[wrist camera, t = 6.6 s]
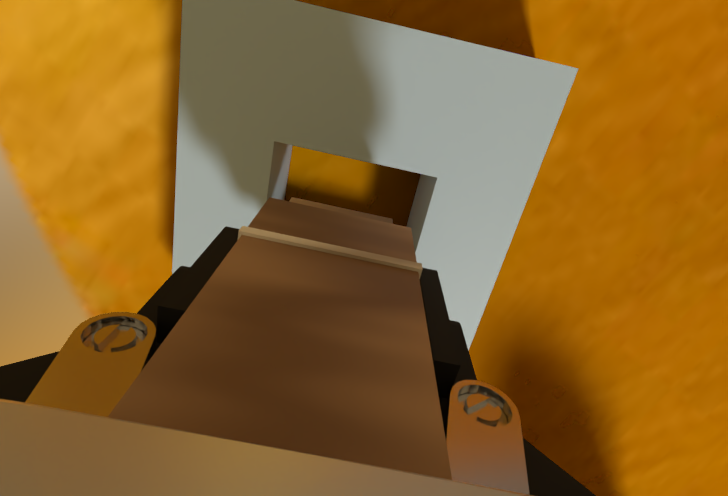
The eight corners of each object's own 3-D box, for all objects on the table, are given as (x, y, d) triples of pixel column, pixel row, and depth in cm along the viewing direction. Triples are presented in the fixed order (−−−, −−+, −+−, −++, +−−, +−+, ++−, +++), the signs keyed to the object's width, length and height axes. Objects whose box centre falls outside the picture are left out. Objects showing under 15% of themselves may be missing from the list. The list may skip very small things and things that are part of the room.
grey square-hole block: (536, 63, 17) (578, 68, 13) (435, 350, 23) (445, 408, 19) (227, -11, 16) (183, -27, 13) (204, 304, 22) (169, 354, 19)
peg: (411, 207, 14) (470, 528, 5) (380, 318, 15) (380, 708, 6) (278, 178, 13) (65, 454, 4) (262, 294, 15) (85, 664, 6)
